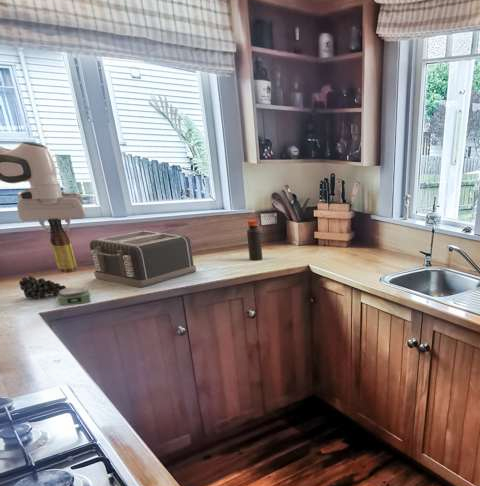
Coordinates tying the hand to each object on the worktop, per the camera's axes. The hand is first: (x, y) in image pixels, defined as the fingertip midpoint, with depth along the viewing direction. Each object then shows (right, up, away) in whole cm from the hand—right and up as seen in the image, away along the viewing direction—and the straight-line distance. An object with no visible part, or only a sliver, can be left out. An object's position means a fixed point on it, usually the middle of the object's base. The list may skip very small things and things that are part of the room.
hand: (57, 232), depth 171 cm
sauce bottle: (0, -13, +6) cm, 15 cm away
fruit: (-15, -22, +14) cm, 30 cm away
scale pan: (0, -21, +10) cm, 23 cm away
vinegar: (+53, +7, +79) cm, 95 cm away
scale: (-1, -24, +11) cm, 26 cm away
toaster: (+10, -8, +44) cm, 46 cm away
